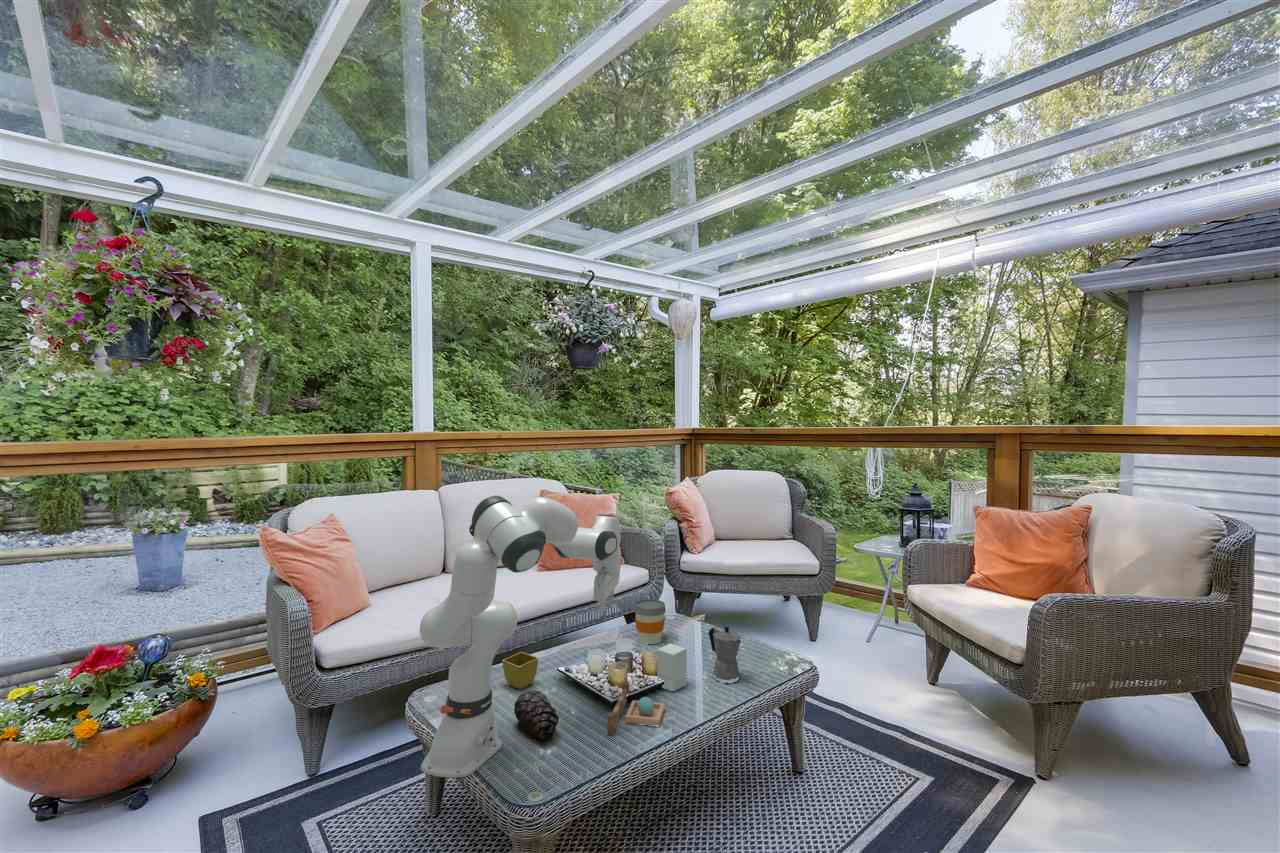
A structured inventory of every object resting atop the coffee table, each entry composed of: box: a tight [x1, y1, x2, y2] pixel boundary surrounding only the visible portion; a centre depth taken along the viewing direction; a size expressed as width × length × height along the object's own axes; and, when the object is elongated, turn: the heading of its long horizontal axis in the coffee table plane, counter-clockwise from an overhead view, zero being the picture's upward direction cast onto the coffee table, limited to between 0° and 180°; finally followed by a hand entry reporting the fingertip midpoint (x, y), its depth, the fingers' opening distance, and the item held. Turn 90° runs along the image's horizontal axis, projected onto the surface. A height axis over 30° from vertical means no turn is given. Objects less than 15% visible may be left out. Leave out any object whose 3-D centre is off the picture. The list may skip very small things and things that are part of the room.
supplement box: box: [656, 643, 687, 692], centre depth 199 cm, size 7×7×13 cm
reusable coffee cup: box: [634, 598, 667, 644], centre depth 238 cm, size 13×13×15 cm
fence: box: [606, 681, 630, 736], centre depth 179 cm, size 22×2×6 cm, turn 169°
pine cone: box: [513, 689, 560, 746], centre depth 171 cm, size 10×18×10 cm, turn 42°
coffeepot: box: [708, 626, 742, 680], centre depth 206 cm, size 15×9×18 cm, turn 36°
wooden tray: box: [625, 699, 665, 725], centre depth 179 cm, size 10×10×2 cm
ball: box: [637, 696, 655, 715], centre depth 179 cm, size 5×5×5 cm
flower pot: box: [501, 651, 539, 690], centre depth 199 cm, size 9×9×9 cm
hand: (606, 606), depth 191 cm, fingers open, 8 cm apart
